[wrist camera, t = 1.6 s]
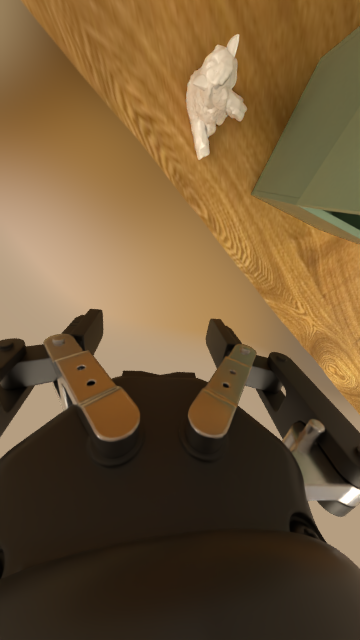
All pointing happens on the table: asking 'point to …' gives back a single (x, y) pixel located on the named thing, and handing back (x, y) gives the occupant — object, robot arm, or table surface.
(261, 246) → the table surface
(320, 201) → the lid
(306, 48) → the table surface
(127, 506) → the robot arm
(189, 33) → the table surface
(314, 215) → the chest
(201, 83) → the sitting furry creature
